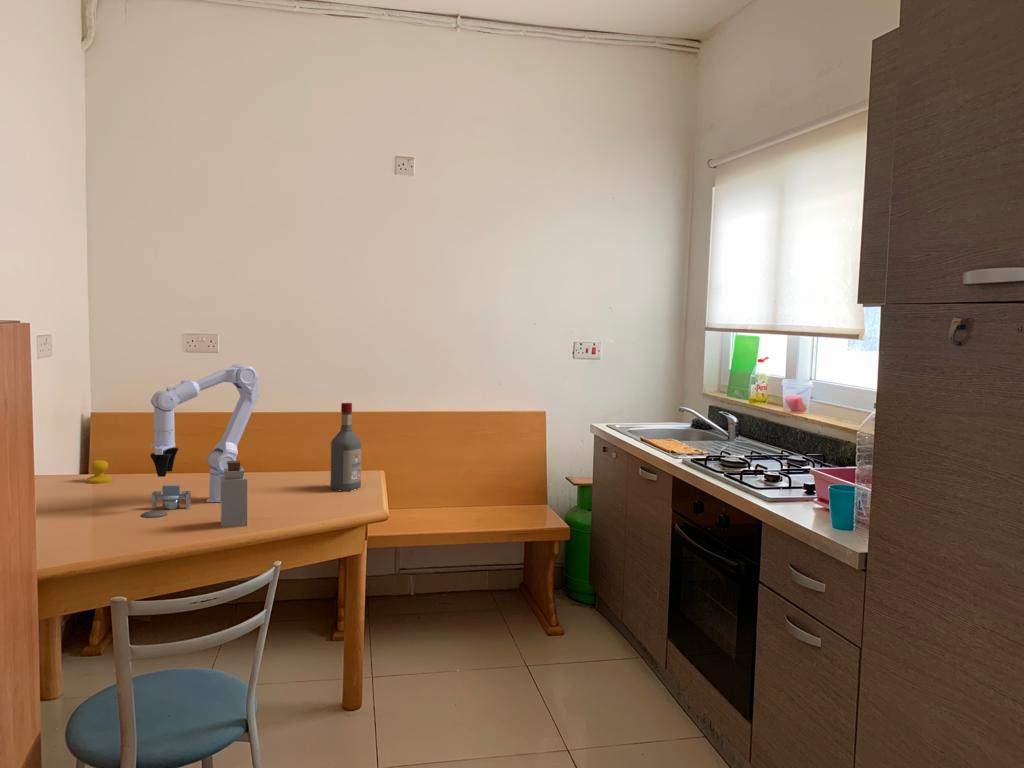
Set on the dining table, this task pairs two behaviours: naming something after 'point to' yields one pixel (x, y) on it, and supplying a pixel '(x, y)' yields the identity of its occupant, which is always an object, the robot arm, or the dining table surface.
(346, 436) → the liquor
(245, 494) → the perfume bottle
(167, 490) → the cap
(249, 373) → the robot arm
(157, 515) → the pad
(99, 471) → the doorknob
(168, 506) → the metal ball with blocks
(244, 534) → the dining table surface
